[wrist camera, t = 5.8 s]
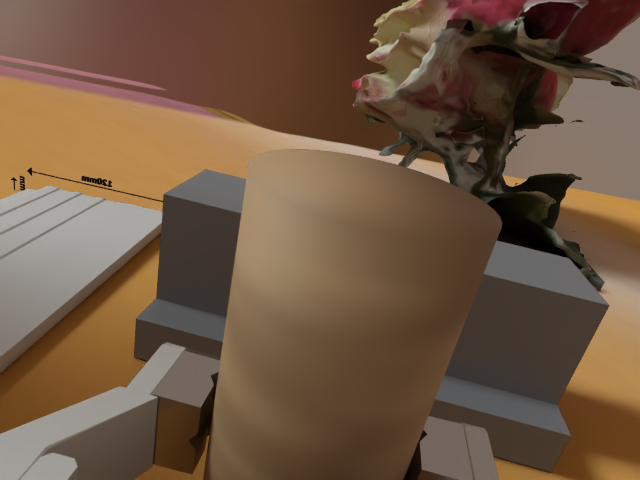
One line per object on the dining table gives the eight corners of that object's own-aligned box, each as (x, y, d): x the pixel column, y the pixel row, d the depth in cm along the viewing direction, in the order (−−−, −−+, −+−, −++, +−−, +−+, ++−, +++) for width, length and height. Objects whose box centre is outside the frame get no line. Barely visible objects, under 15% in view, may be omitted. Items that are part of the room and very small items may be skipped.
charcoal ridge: (134, 356, 20) (142, 206, 17) (204, 276, 27) (218, 162, 24) (551, 472, 19) (630, 330, 16) (507, 354, 26) (557, 244, 23)
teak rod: (151, 694, 10) (207, 189, 6) (216, 526, 14) (282, 137, 9) (324, 750, 10) (534, 270, 5) (344, 564, 14) (478, 183, 9)
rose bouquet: (509, 193, 64) (603, -53, 53) (639, 302, 37) (890, -152, 26) (329, 156, 63) (385, -106, 51) (330, 242, 36) (450, -272, 24)
